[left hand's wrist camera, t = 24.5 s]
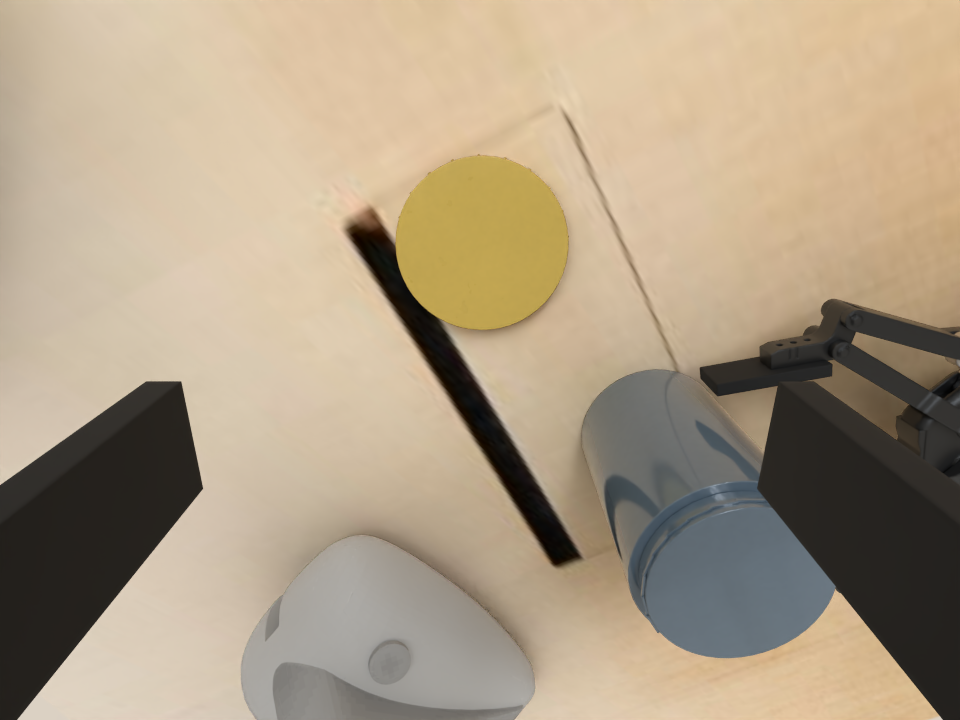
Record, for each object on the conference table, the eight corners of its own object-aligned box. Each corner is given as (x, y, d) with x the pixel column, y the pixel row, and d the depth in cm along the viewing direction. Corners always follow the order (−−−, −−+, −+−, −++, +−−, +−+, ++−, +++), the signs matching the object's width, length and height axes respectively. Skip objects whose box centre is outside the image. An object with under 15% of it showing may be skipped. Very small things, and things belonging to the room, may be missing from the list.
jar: (684, 343, 40) (804, 461, 25) (740, 452, 43) (877, 614, 28) (556, 413, 42) (598, 560, 27) (619, 512, 45) (688, 693, 30)
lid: (398, 320, 39) (395, 328, 38) (396, 150, 36) (392, 151, 34) (557, 326, 40) (560, 333, 38) (572, 157, 36) (577, 158, 34)
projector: (307, 726, 54) (248, 926, 40) (230, 529, 45) (123, 694, 32) (539, 699, 52) (560, 895, 39) (502, 490, 44) (512, 645, 31)
